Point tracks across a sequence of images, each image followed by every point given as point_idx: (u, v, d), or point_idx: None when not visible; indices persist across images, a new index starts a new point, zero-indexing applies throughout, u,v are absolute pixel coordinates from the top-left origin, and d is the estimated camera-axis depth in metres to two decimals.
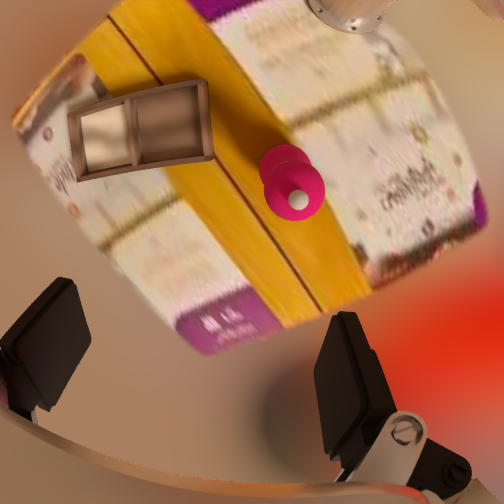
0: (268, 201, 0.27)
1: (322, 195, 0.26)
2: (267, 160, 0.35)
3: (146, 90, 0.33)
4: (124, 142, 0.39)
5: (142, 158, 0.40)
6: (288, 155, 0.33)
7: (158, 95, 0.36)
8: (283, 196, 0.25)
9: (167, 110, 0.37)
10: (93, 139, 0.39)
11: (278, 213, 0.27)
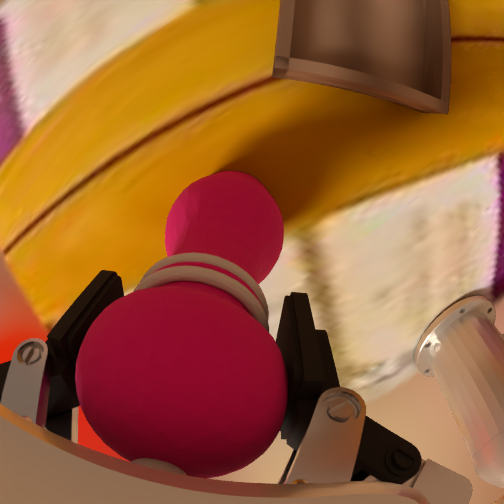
0: (126, 353, 0.05)
1: None
2: (258, 210, 0.14)
3: (447, 15, 0.10)
4: None
5: None
6: (265, 267, 0.14)
7: (422, 26, 0.13)
8: (158, 442, 0.04)
9: (392, 26, 0.13)
10: None
11: (85, 384, 0.05)
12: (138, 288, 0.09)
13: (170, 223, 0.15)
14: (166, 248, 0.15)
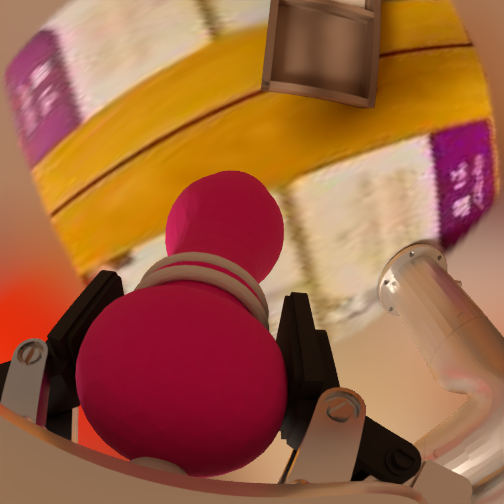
0: (126, 351, 0.05)
1: None
2: (259, 210, 0.14)
3: (378, 40, 0.21)
4: None
5: (284, 5, 0.22)
6: (265, 266, 0.14)
7: (363, 49, 0.24)
8: (158, 441, 0.04)
9: (340, 52, 0.25)
10: None
11: (85, 383, 0.05)
12: (138, 287, 0.09)
13: (170, 223, 0.15)
14: (166, 248, 0.15)
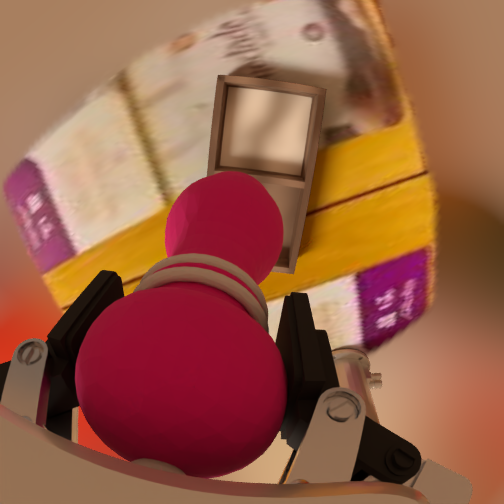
0: (126, 354, 0.05)
1: None
2: (258, 211, 0.14)
3: (304, 213, 0.33)
4: (251, 153, 0.33)
5: None
6: (265, 267, 0.14)
7: (294, 212, 0.36)
8: (157, 443, 0.04)
9: None
10: (271, 107, 0.30)
11: (85, 385, 0.05)
12: (138, 289, 0.09)
13: (170, 224, 0.15)
14: (166, 248, 0.15)
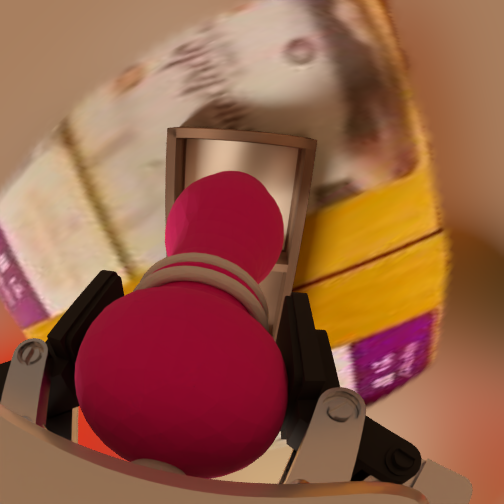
0: (125, 353, 0.05)
1: None
2: (259, 210, 0.14)
3: None
4: None
5: None
6: (265, 267, 0.14)
7: (277, 290, 0.30)
8: (157, 443, 0.04)
9: None
10: (244, 163, 0.25)
11: (84, 384, 0.05)
12: (138, 288, 0.09)
13: (170, 223, 0.15)
14: (166, 248, 0.15)
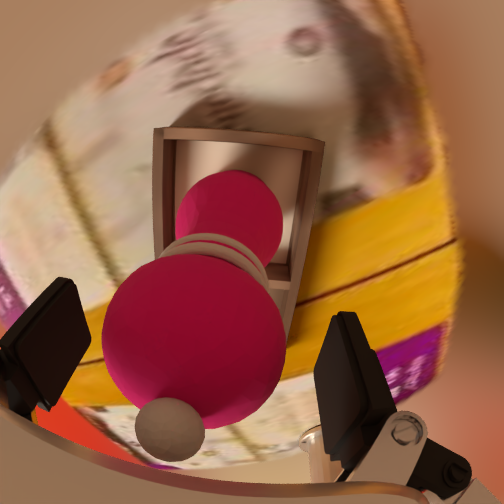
0: (155, 299, 0.07)
1: None
2: (260, 203, 0.16)
3: (290, 317, 0.25)
4: None
5: None
6: (266, 253, 0.16)
7: (278, 306, 0.27)
8: (176, 377, 0.06)
9: None
10: (241, 167, 0.22)
11: (115, 331, 0.06)
12: None
13: (181, 214, 0.16)
14: (176, 237, 0.17)
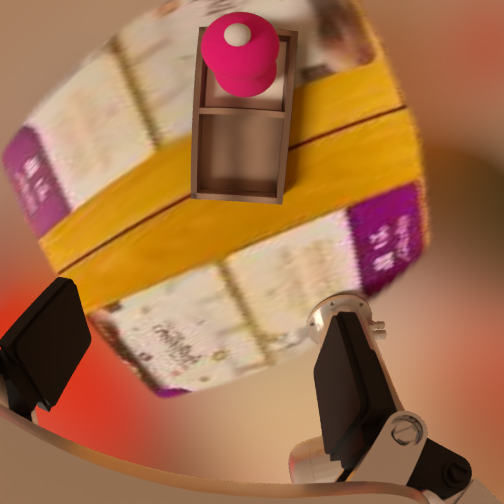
0: None
1: (233, 72, 0.17)
2: None
3: (287, 141, 0.33)
4: None
5: (207, 114, 0.34)
6: None
7: (278, 145, 0.36)
8: (241, 23, 0.15)
9: (257, 152, 0.36)
10: None
11: (217, 20, 0.15)
12: None
13: None
14: None
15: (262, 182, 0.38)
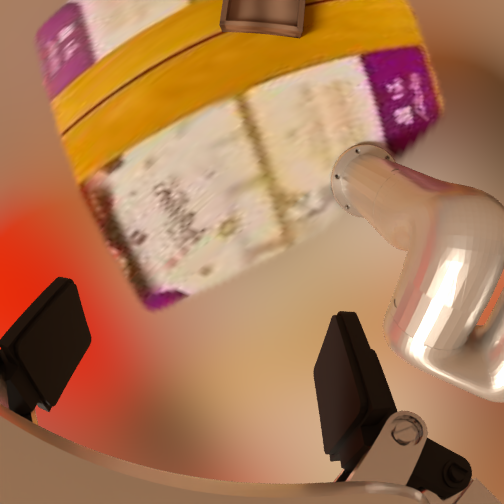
0: None
1: None
2: None
3: None
4: None
5: None
6: None
7: None
8: None
9: (279, 2, 0.31)
10: None
11: None
12: None
13: None
14: None
15: (283, 23, 0.32)
